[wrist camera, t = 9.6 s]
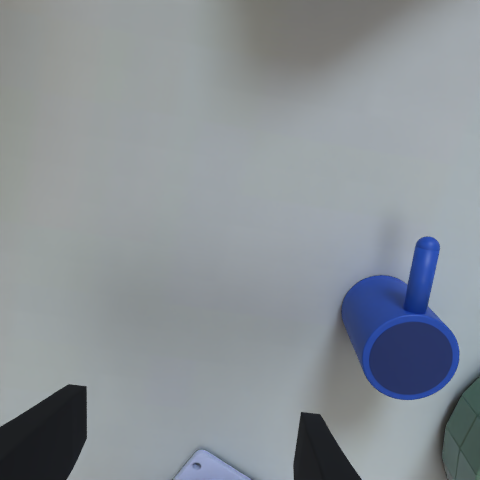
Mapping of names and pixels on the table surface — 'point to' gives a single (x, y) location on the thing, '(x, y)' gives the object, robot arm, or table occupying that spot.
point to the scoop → (401, 330)
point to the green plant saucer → (463, 437)
